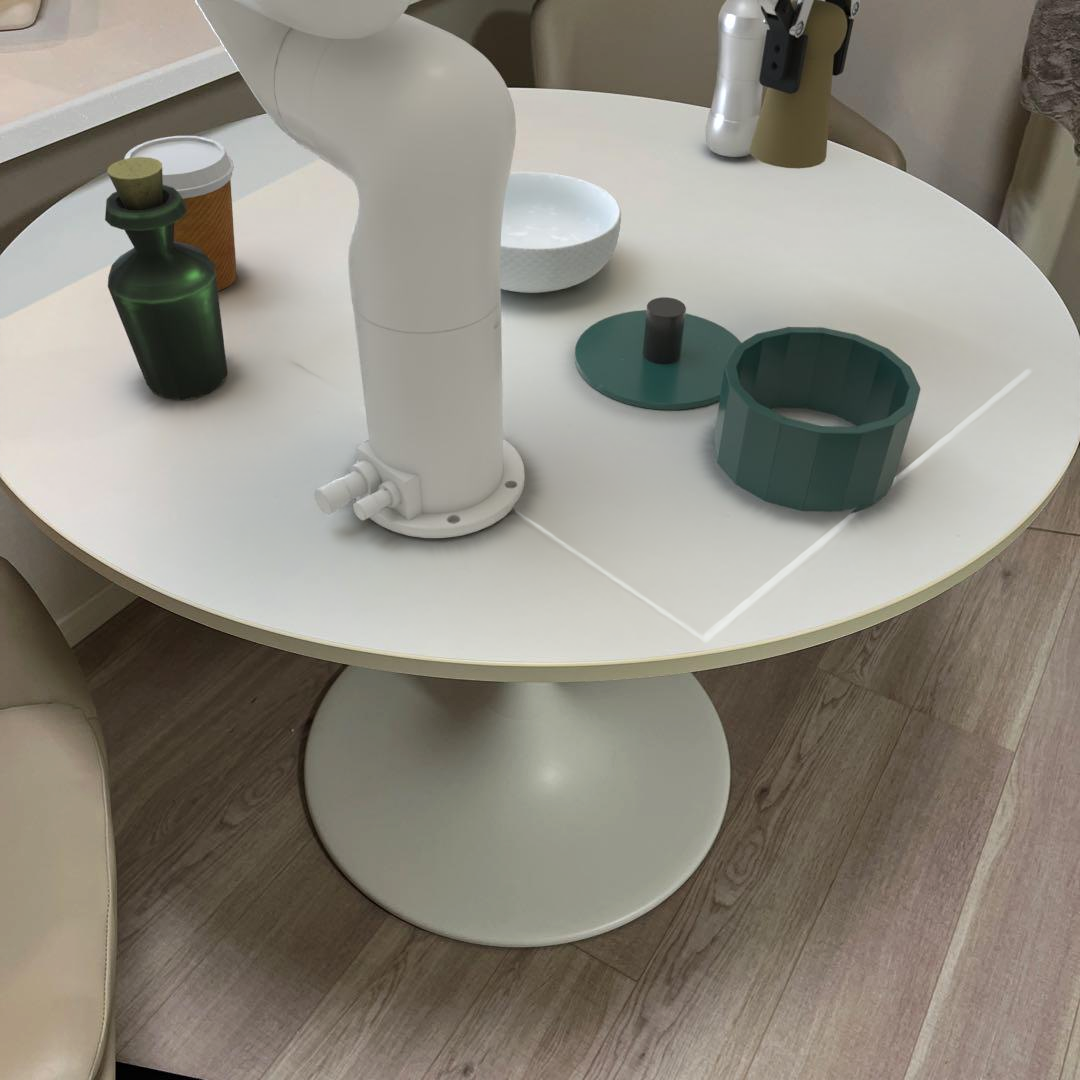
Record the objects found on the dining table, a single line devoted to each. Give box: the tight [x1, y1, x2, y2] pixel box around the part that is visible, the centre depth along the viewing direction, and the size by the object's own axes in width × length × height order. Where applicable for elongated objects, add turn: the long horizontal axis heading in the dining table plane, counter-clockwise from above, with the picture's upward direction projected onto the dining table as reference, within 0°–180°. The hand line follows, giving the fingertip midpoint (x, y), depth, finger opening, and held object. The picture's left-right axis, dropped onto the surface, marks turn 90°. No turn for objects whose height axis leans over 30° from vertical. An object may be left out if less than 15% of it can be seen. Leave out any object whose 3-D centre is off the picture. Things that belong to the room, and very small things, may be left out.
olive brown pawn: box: [749, 0, 847, 169], centre depth 80 cm, size 6×6×11 cm
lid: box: [574, 296, 742, 411], centre depth 88 cm, size 15×15×6 cm
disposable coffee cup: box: [123, 135, 238, 292], centre depth 96 cm, size 10×10×12 cm
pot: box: [712, 326, 922, 514], centre depth 78 cm, size 14×14×8 cm
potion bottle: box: [104, 157, 228, 400], centre depth 82 cm, size 8×8×18 cm
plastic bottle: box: [704, 0, 767, 158], centre depth 118 cm, size 6×7×20 cm
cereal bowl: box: [500, 171, 622, 294], centre depth 99 cm, size 17×17×7 cm
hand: (801, 76), depth 80 cm, fingers closed on olive brown pawn, 5 cm apart
